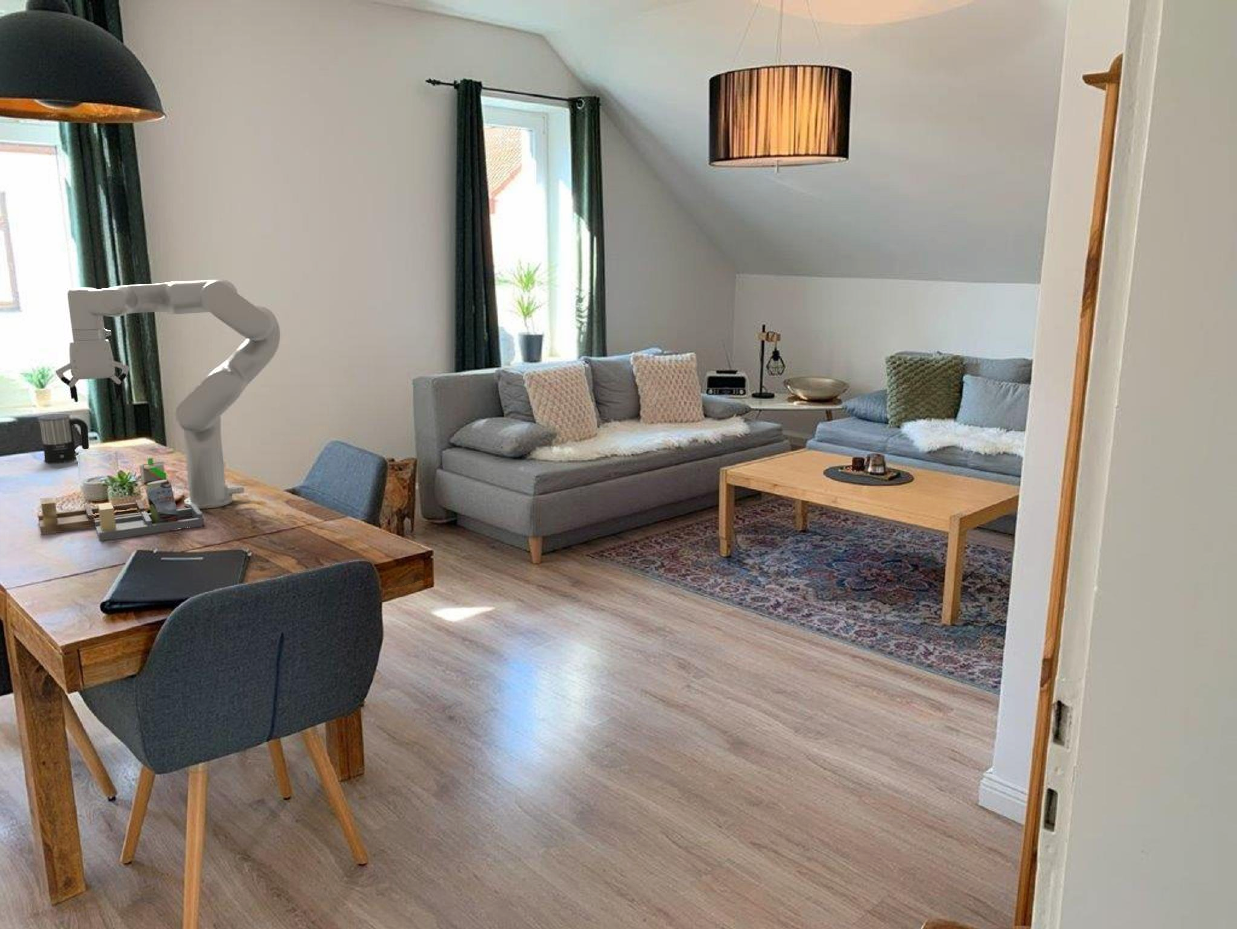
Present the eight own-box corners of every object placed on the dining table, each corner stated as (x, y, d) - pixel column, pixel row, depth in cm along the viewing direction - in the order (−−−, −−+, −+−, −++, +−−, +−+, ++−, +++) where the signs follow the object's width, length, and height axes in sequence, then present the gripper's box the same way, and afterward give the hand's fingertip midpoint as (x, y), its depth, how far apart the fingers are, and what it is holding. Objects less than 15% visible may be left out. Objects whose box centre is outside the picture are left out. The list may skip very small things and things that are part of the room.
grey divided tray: (195, 514, 256) (193, 489, 254) (204, 525, 246) (201, 499, 245) (95, 528, 243) (92, 501, 242) (100, 540, 234) (96, 513, 232)
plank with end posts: (140, 508, 260) (137, 484, 259) (146, 520, 250) (143, 494, 249) (38, 522, 248) (35, 496, 246) (41, 534, 238) (37, 507, 236)
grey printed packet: (169, 530, 243) (164, 484, 240) (144, 527, 244) (138, 482, 241) (184, 522, 249) (180, 478, 246) (160, 520, 250) (155, 476, 247)
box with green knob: (169, 482, 290) (167, 456, 288) (146, 486, 285) (143, 460, 283) (164, 479, 293) (162, 454, 291) (141, 483, 288) (138, 458, 286)
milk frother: (52, 465, 307) (46, 420, 304) (28, 458, 316) (22, 414, 312) (96, 456, 319) (91, 413, 315) (71, 450, 327) (66, 408, 324)
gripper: (123, 332, 257) (131, 395, 261) (50, 335, 248) (58, 400, 252) (127, 335, 251) (134, 399, 255) (51, 338, 242) (60, 404, 246)
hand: (96, 399), depth 253 cm, fingers open, 9 cm apart
